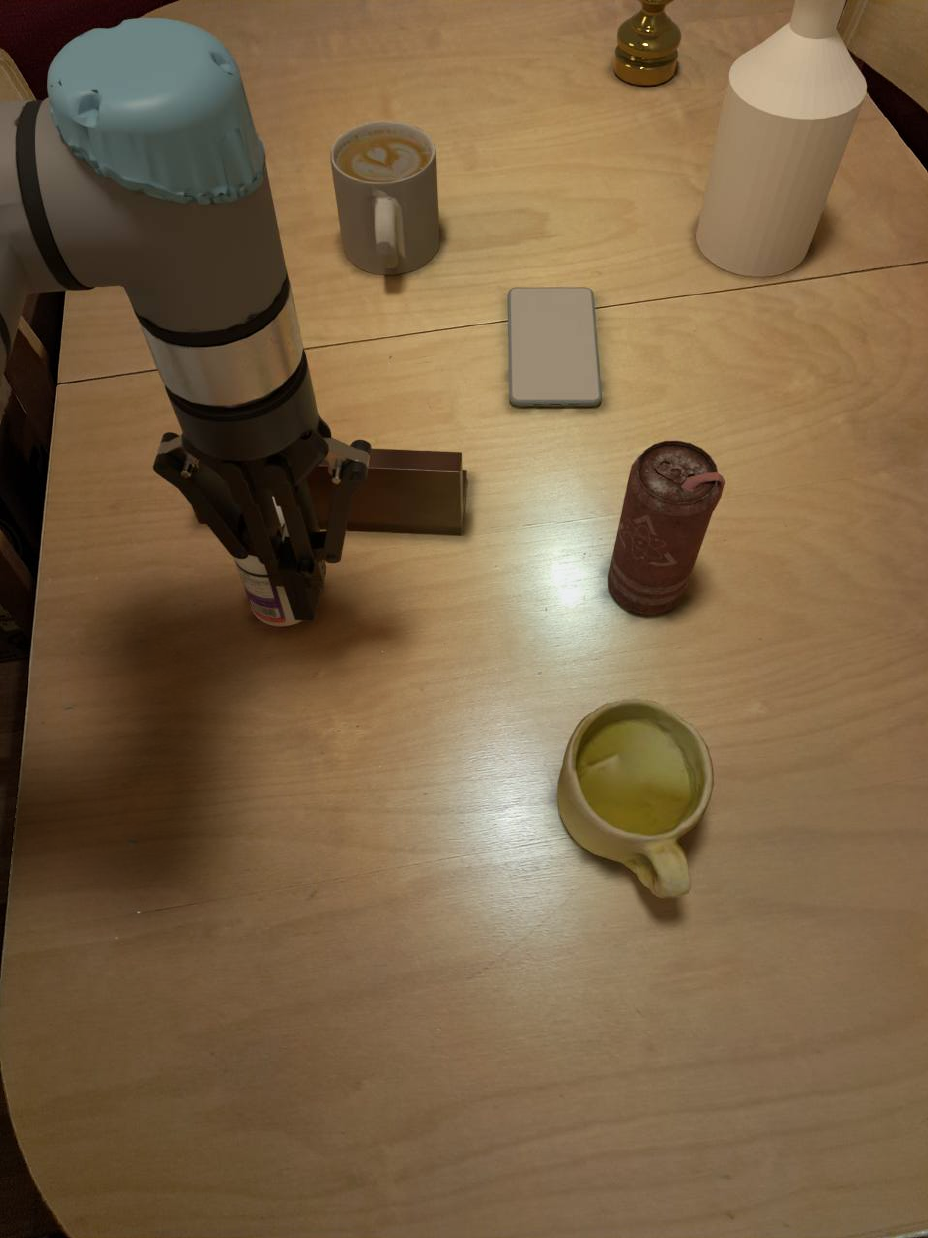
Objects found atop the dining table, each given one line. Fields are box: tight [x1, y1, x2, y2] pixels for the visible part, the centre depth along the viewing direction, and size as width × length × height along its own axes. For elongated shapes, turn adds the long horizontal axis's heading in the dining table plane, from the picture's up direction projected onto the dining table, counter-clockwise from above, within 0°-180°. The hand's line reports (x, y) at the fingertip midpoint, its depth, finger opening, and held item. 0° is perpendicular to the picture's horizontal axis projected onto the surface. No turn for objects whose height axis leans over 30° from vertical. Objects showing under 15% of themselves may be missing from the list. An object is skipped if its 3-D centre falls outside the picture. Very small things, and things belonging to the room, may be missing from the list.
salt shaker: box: [613, 0, 682, 87], centre depth 108 cm, size 7×7×10 cm
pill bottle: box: [233, 497, 303, 627], centre depth 70 cm, size 5×5×10 cm
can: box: [607, 440, 726, 615], centre depth 68 cm, size 6×6×14 cm
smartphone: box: [507, 286, 603, 407], centre depth 88 cm, size 8×1×15 cm
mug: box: [556, 698, 715, 899], centre depth 61 cm, size 12×10×10 cm
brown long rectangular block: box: [191, 448, 468, 536], centre depth 76 cm, size 22×6×8 cm, turn 86°
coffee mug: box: [329, 120, 441, 276], centre depth 91 cm, size 13×10×10 cm
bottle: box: [695, 0, 868, 278], centre depth 85 cm, size 12×12×25 cm
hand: (307, 604), depth 69 cm, fingers closed
